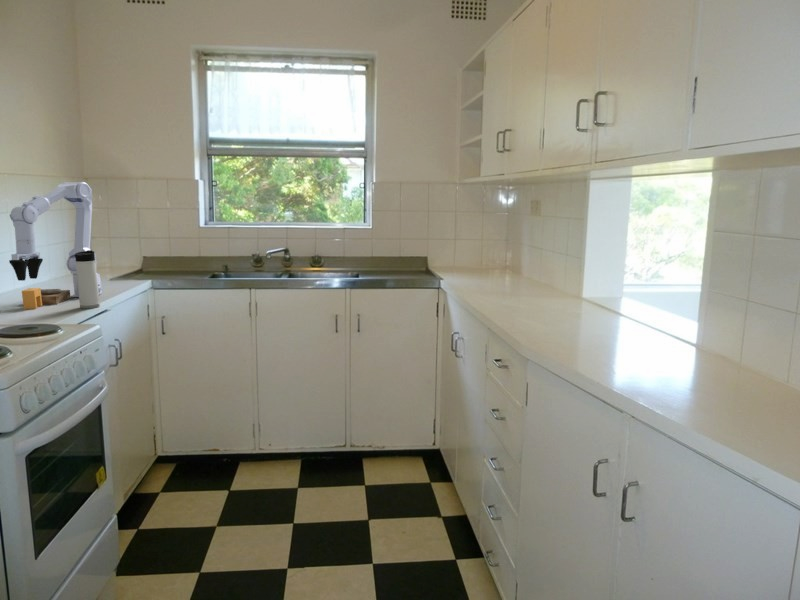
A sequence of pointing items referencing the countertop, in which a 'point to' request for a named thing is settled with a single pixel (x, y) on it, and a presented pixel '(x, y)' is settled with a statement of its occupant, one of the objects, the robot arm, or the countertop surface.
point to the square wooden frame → (54, 296)
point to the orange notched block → (32, 298)
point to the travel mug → (87, 279)
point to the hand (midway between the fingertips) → (27, 279)
